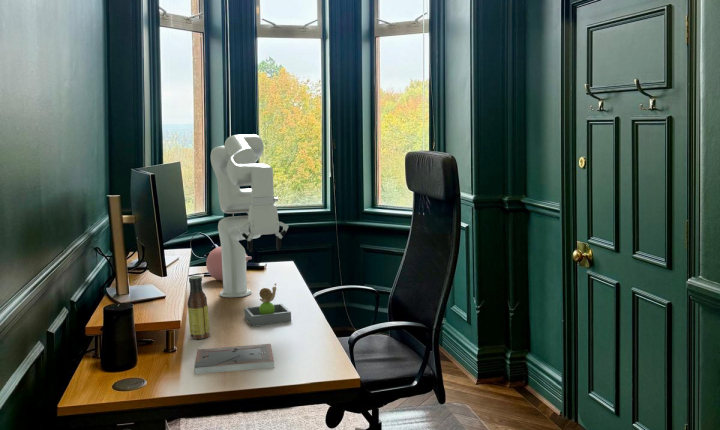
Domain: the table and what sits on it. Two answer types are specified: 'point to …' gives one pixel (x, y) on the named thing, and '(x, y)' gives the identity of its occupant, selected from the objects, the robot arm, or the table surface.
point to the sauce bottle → (198, 309)
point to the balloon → (217, 263)
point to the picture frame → (234, 358)
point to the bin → (267, 315)
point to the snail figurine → (267, 301)
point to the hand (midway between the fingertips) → (264, 250)
